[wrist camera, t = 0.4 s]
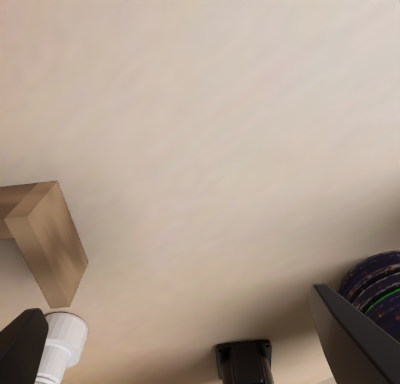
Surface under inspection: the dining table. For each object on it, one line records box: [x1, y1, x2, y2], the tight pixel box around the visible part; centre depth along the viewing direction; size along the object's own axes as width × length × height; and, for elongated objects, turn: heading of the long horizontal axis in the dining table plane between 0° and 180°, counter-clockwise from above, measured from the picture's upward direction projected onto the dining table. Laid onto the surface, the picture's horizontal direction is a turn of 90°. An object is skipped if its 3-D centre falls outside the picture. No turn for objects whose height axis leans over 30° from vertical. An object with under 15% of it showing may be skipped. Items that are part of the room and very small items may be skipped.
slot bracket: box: [0, 181, 88, 309], centre depth 23 cm, size 8×10×5 cm
